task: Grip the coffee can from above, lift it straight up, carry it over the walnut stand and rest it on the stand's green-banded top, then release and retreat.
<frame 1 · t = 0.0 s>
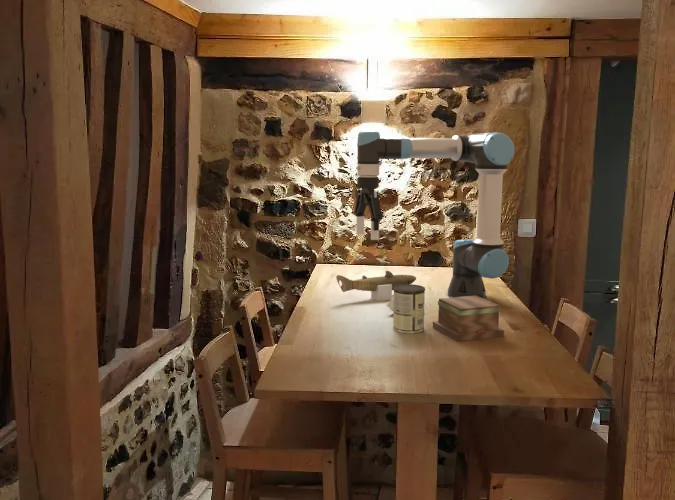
hand: (367, 237, 221), 28 cm above the table, tool pointing down, fingers open, 13 cm apart
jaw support: (405, 311, 230), on the table
wood carving: (376, 299, 248), on the table
coffee can: (408, 329, 207), on the table
stand: (467, 331, 205), on the table
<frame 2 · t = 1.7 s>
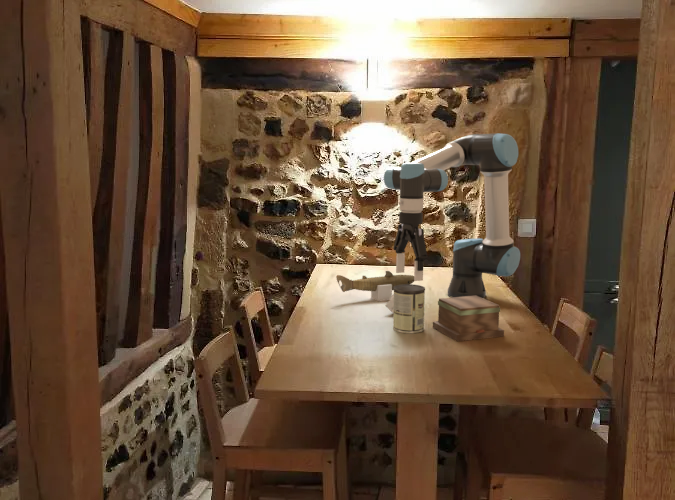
hand: (409, 276, 204), 18 cm above the table, tool pointing down, fingers open, 13 cm apart
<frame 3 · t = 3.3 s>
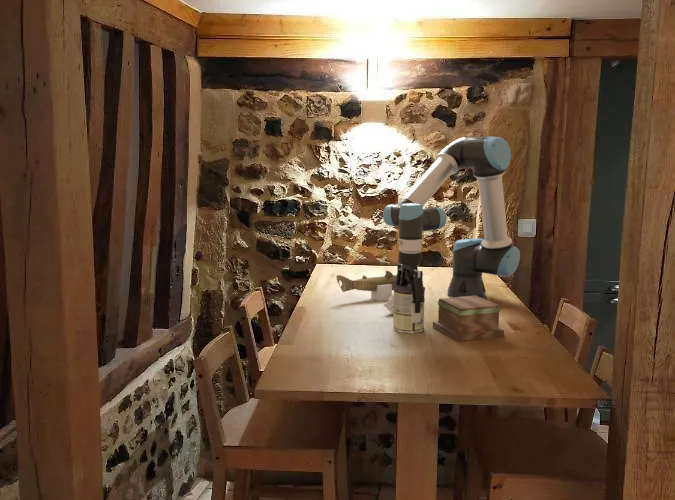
hand: (408, 317, 207), 4 cm above the table, tool pointing down, fingers closed on coffee can, 10 cm apart
coffee can: (408, 329, 207), on the table, touching gripper
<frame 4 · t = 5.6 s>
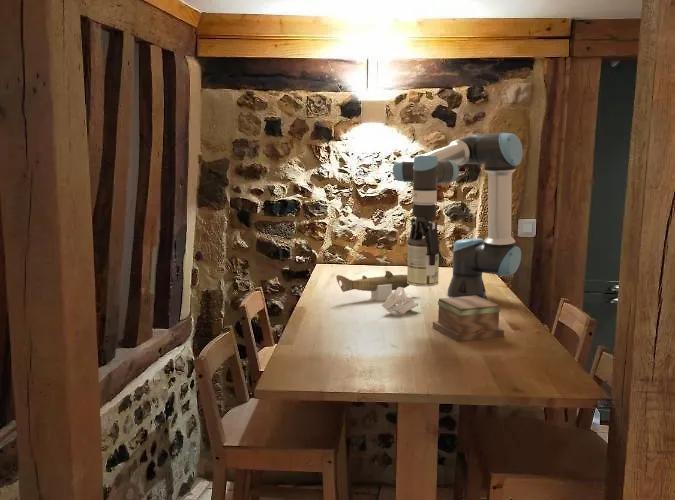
hand: (422, 271, 204), 19 cm above the table, tool pointing down, fingers closed on coffee can, 10 cm apart
coffee can: (422, 283, 204), point 15 cm above the table, touching gripper
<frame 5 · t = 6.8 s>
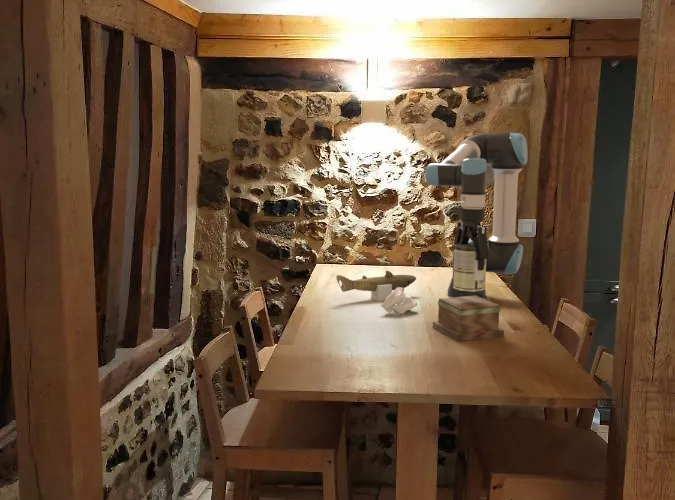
hand: (469, 276, 202), 18 cm above the table, tool pointing down, fingers closed on coffee can, 10 cm apart
coffee can: (468, 288, 202), point 14 cm above the table, touching gripper
when the fingers open (15 cm above the table, at t = 7.8 s): coffee can drops 1 cm, resting on stand.
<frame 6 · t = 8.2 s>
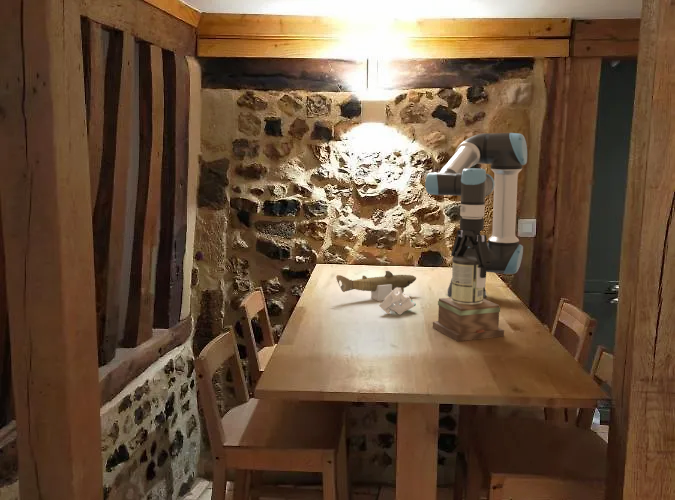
hand: (469, 283, 202), 16 cm above the table, tool pointing down, fingers open, 13 cm apart
coffee can: (466, 301, 204), point 10 cm above the table, touching stand
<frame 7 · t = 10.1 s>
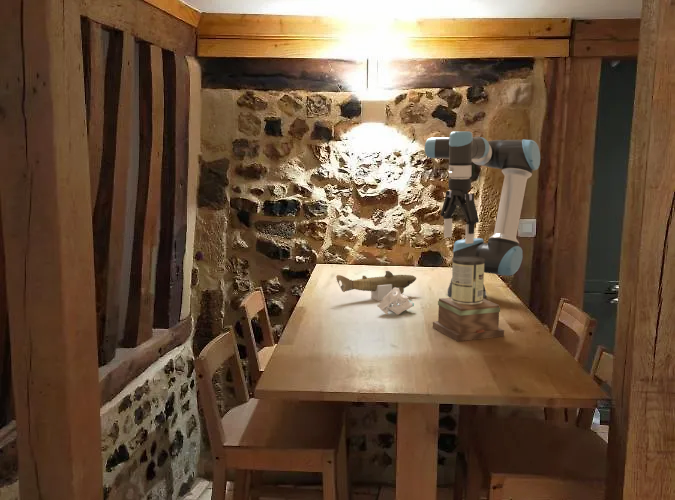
hand: (458, 240, 215), 28 cm above the table, tool pointing down, fingers open, 13 cm apart
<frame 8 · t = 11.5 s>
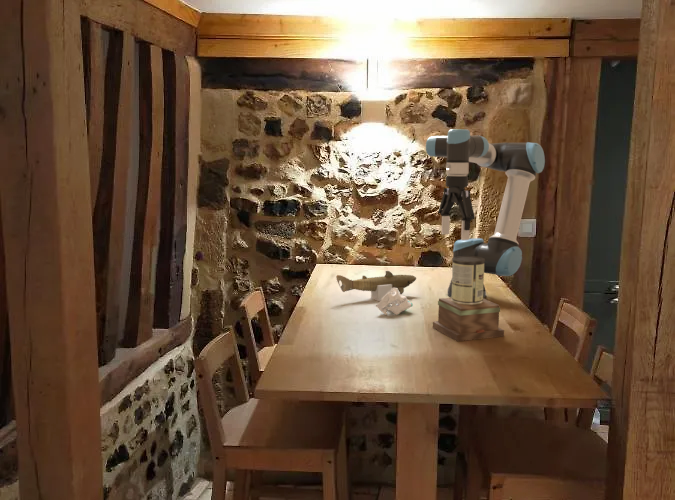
hand: (454, 237, 217), 29 cm above the table, tool pointing down, fingers open, 13 cm apart
at the end: coffee can inside the target area on the stand (1.1 cm from its centre), point 9.8 cm above the stand's base; coffee can tilted 0°; the gripper is holding nothing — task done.
